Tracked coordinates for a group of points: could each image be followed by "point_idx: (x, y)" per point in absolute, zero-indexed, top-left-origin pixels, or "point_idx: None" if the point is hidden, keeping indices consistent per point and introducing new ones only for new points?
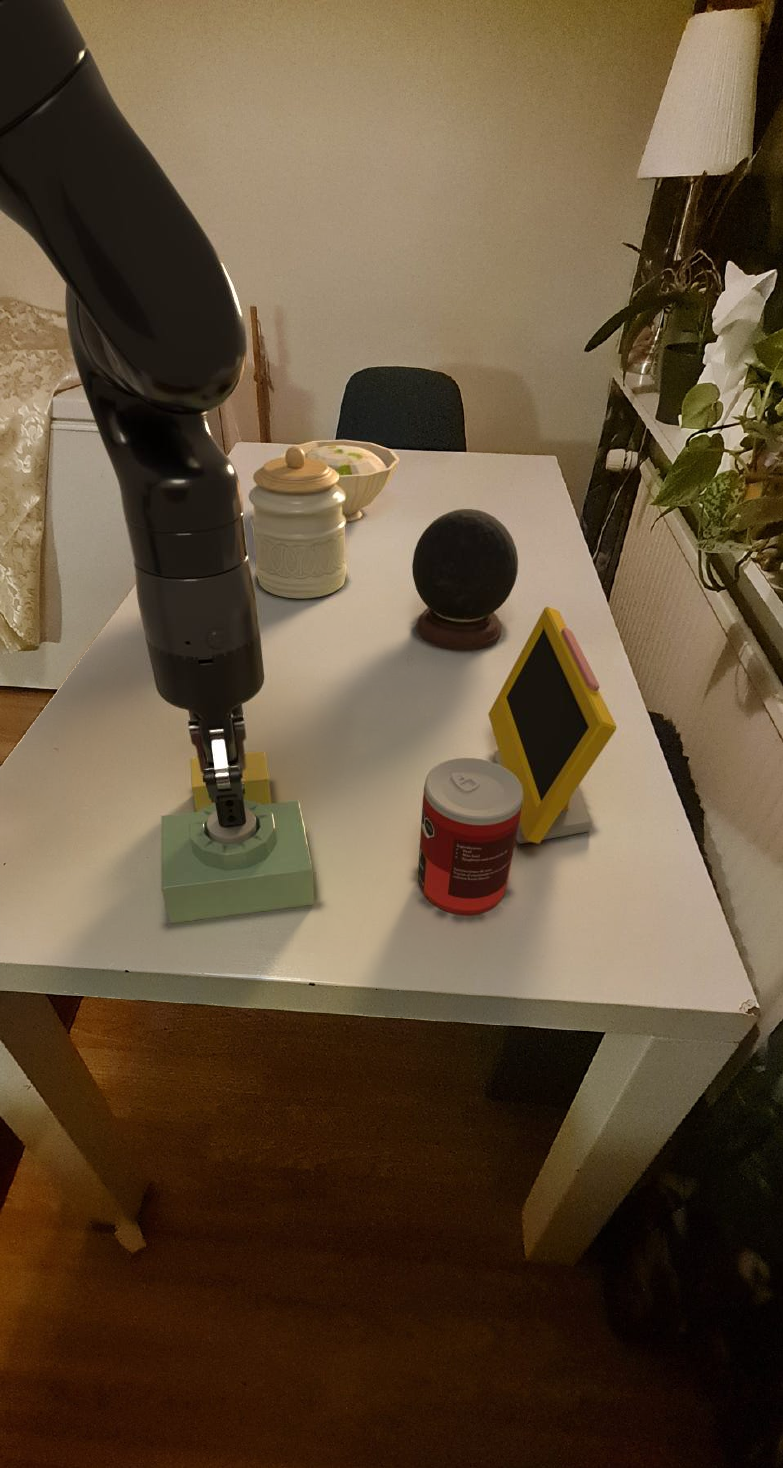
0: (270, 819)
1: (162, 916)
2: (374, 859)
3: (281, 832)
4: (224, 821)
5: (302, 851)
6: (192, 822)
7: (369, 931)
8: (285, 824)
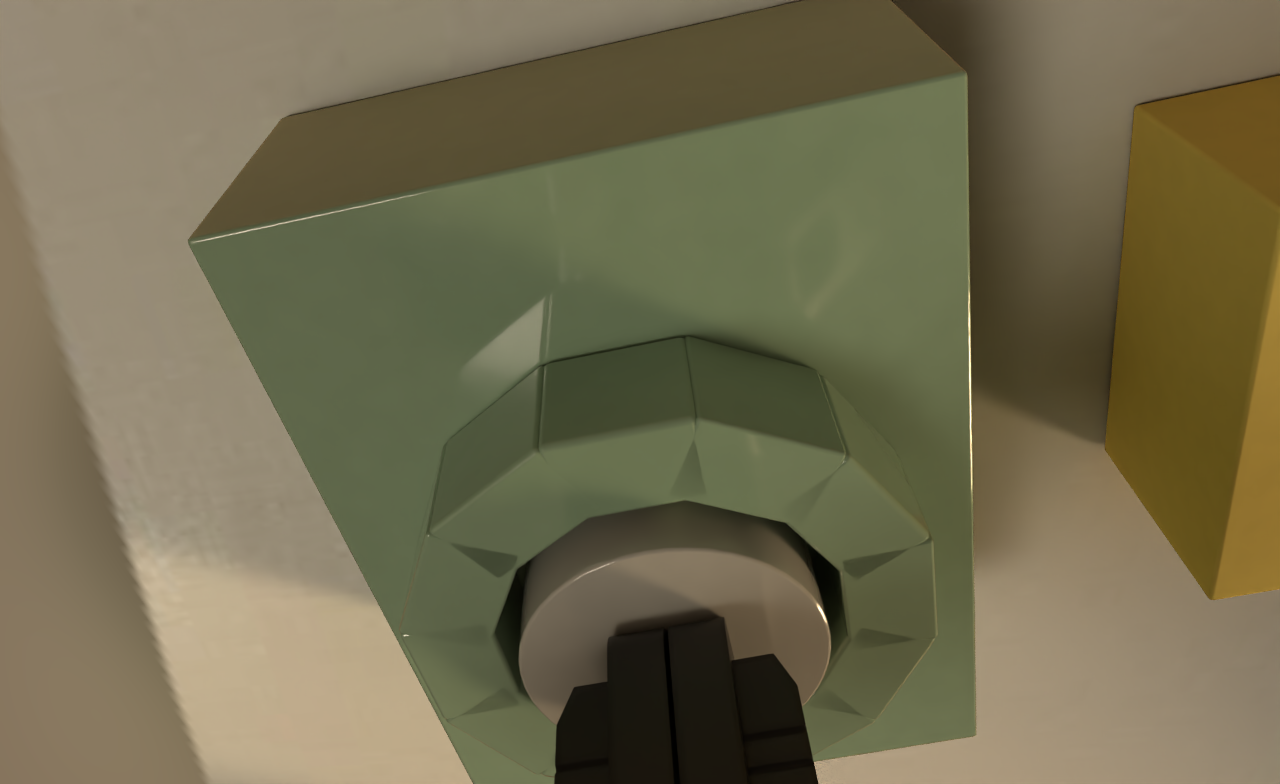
0: None
1: (326, 60)
2: None
3: None
4: (556, 743)
5: None
6: (699, 439)
7: (402, 769)
8: None
